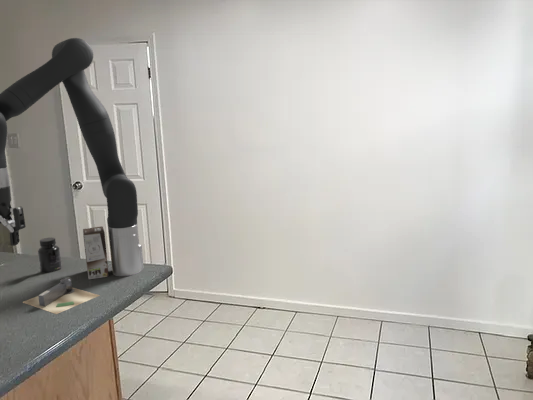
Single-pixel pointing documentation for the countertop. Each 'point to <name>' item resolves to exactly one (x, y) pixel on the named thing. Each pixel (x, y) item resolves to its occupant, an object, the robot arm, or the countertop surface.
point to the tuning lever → (55, 291)
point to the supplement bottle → (49, 256)
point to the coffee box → (95, 252)
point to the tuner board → (63, 301)
